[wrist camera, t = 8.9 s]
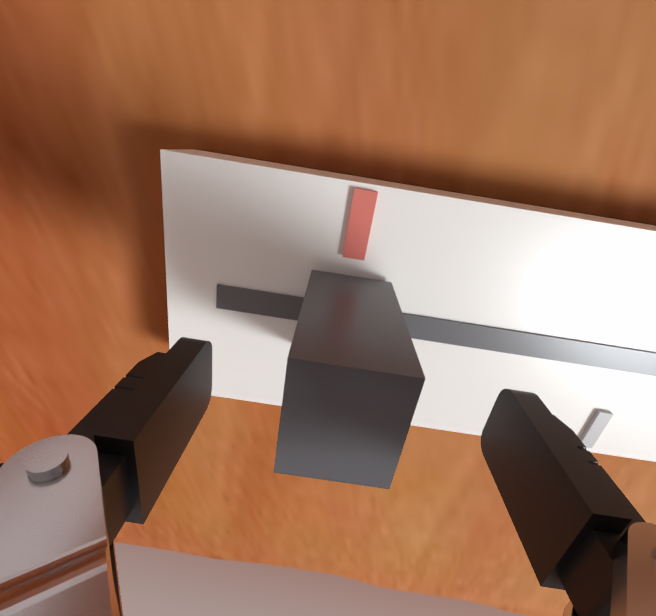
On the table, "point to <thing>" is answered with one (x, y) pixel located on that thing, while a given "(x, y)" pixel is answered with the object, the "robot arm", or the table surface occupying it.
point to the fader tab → (348, 383)
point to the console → (419, 290)
